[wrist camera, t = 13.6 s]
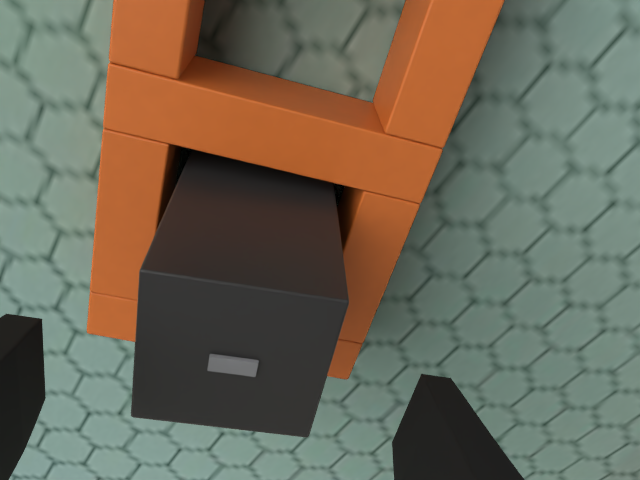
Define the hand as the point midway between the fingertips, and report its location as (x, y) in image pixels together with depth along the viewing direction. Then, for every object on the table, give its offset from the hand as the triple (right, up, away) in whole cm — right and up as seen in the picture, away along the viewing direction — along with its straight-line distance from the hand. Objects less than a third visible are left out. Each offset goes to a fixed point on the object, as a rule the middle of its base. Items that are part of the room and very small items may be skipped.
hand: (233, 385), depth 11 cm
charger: (0, +4, +7) cm, 8 cm away
